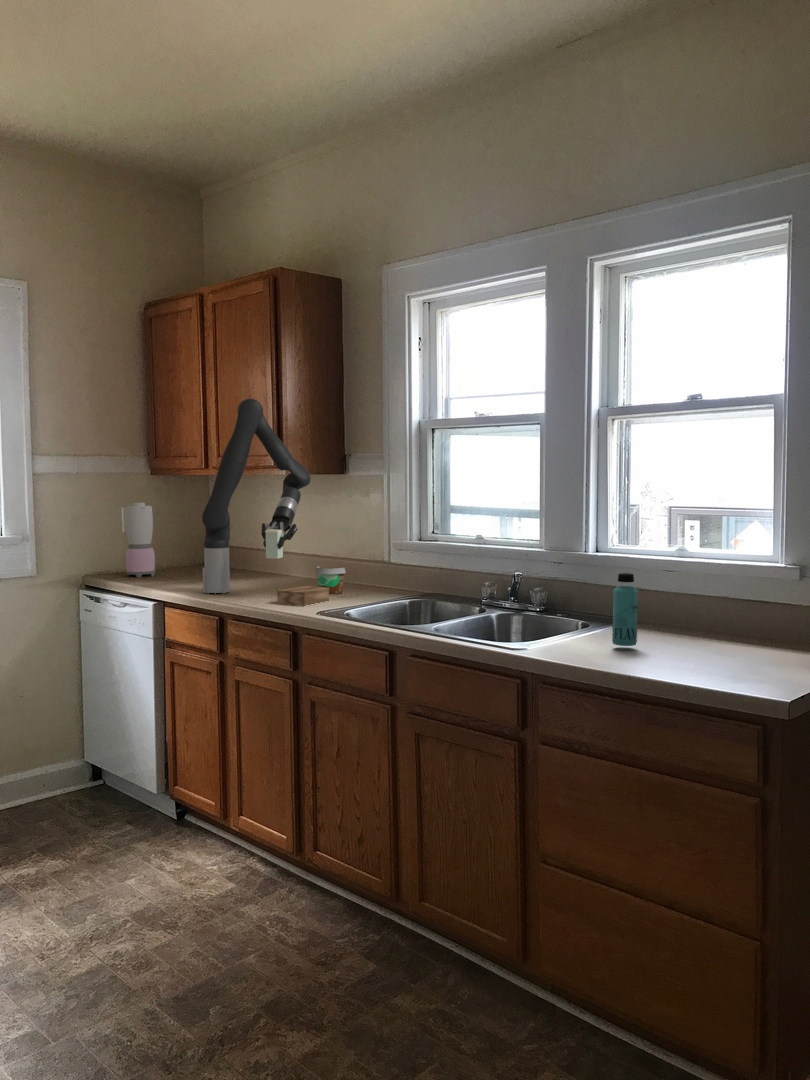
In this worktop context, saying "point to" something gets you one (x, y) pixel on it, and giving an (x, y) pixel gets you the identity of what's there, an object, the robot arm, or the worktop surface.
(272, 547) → the tea tin
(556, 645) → the worktop surface
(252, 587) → the worktop surface
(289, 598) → the walnut box
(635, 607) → the beverage bottle
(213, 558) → the robot arm
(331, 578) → the food container
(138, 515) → the blender
